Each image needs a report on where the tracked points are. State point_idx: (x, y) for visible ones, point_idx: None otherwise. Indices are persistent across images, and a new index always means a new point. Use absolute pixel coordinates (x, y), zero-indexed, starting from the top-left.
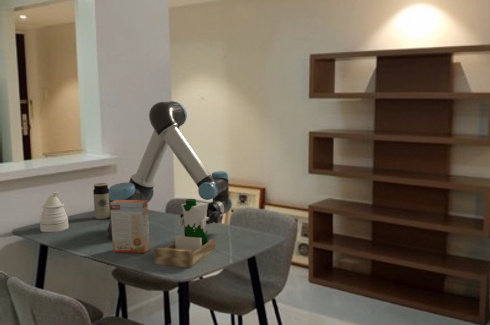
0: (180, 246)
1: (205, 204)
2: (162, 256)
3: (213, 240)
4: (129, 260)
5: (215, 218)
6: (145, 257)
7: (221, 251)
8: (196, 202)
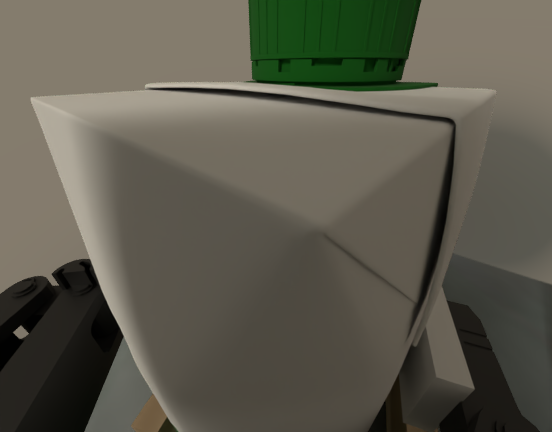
0: None
1: (105, 94)
2: None
3: (151, 399)
4: (517, 294)
5: (50, 285)
6: (487, 323)
7: (134, 390)
8: (244, 117)
